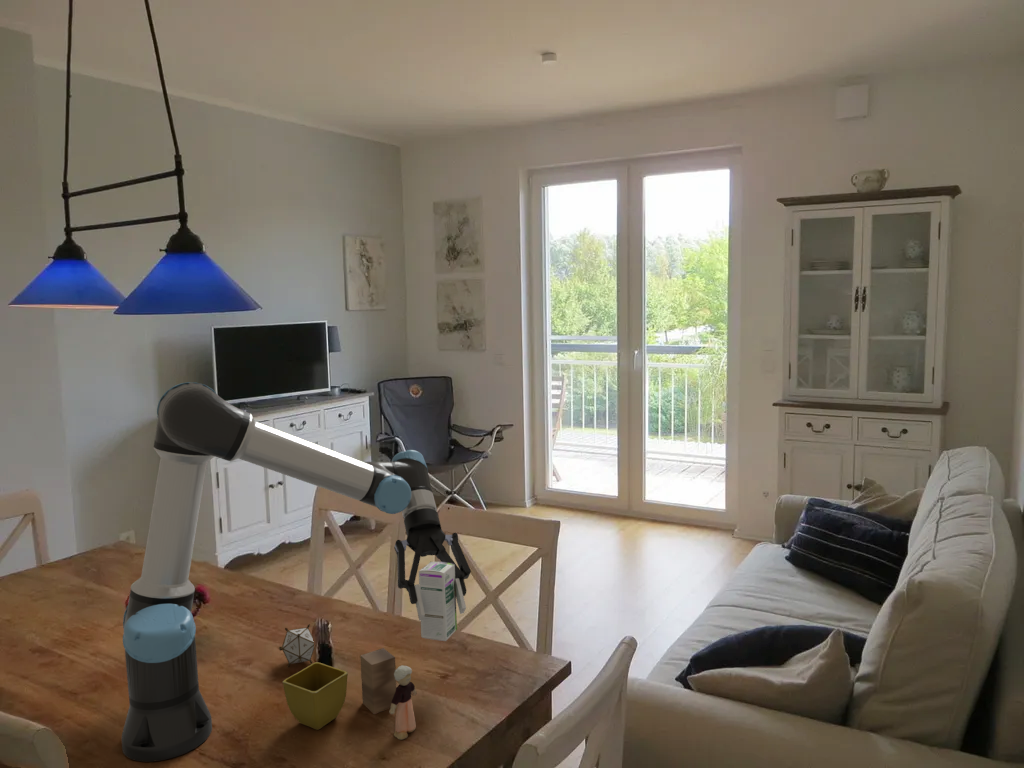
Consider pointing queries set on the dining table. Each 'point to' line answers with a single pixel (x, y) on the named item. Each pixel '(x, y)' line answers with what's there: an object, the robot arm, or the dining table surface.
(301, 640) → the game die
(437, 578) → the syrup box
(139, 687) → the robot arm
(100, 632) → the dining table surface
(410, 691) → the grandmother figurine
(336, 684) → the flower pot
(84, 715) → the dining table surface
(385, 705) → the walnut block
